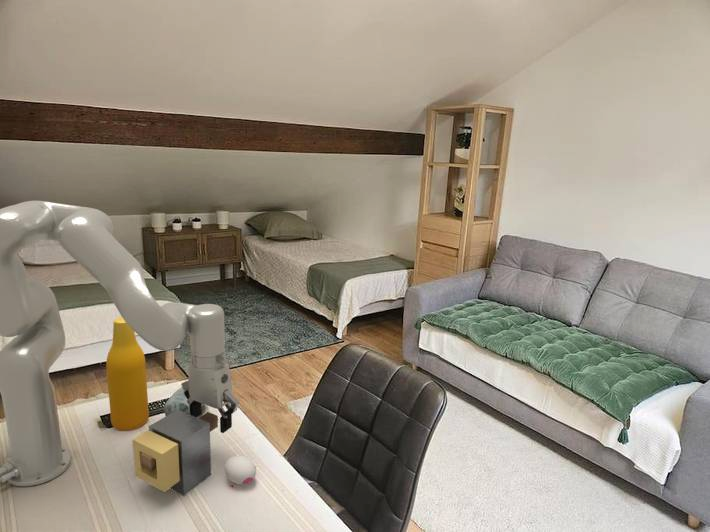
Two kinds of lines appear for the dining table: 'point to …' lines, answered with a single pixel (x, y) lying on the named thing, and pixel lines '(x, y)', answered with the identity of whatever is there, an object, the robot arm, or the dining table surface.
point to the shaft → (151, 462)
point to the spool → (177, 403)
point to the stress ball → (240, 470)
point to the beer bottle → (126, 379)
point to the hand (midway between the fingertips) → (210, 423)
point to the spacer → (157, 460)
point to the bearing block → (187, 447)
